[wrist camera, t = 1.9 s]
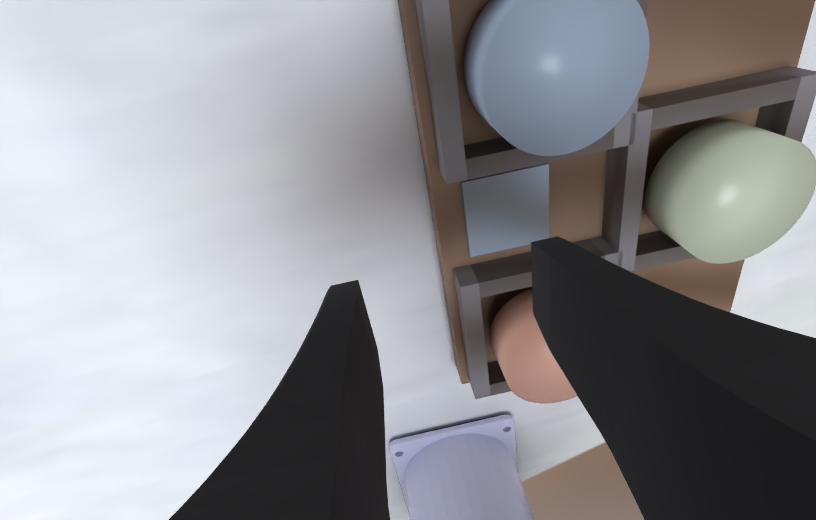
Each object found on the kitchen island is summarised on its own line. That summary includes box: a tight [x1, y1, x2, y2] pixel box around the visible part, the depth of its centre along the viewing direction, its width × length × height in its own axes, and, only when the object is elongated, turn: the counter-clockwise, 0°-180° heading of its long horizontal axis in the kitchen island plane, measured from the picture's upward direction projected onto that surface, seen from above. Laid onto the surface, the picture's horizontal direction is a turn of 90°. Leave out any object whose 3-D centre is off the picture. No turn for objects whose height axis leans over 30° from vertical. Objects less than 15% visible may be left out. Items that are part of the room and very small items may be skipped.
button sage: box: [645, 120, 816, 264], centre depth 18 cm, size 5×5×2 cm
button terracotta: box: [490, 288, 577, 403], centre depth 21 cm, size 5×5×2 cm
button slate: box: [463, 0, 650, 156], centre depth 14 cm, size 5×5×2 cm
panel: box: [398, 0, 816, 399], centre depth 20 cm, size 20×15×3 cm
